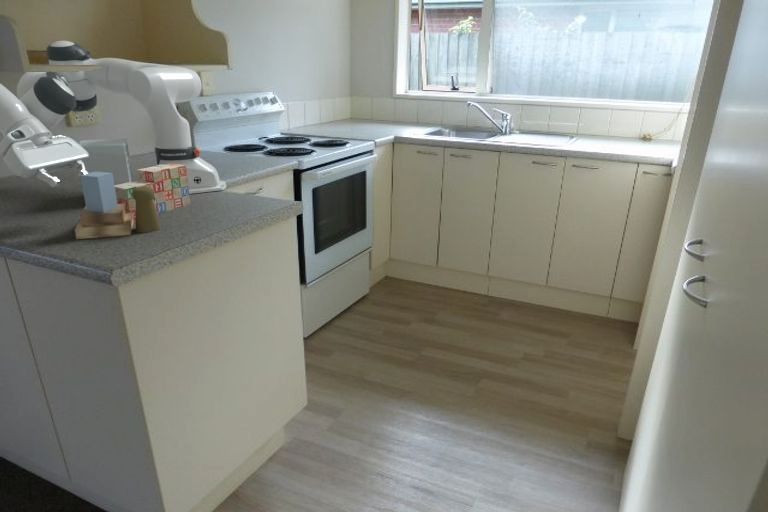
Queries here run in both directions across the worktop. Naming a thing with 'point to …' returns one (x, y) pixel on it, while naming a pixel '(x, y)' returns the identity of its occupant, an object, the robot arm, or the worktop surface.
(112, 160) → the supplement box
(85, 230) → the plinth
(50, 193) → the worktop surface
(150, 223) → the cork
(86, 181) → the pillar
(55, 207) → the worktop surface
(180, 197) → the stack of blocks
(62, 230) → the worktop surface
